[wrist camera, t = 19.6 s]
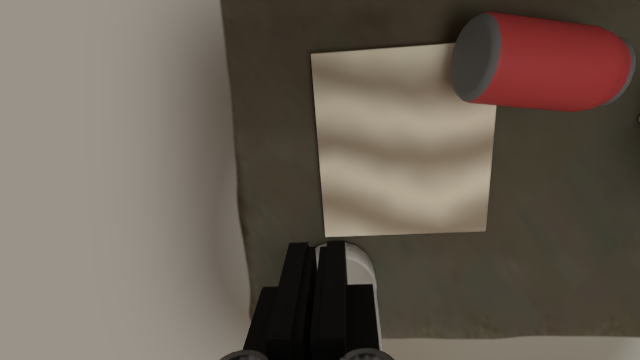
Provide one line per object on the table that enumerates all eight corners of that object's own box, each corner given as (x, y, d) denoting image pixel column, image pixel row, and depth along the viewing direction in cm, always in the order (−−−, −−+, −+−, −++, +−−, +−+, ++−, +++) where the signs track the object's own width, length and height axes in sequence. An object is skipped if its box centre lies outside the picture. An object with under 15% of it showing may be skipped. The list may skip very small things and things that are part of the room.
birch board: (311, 53, 36) (310, 54, 34) (496, 39, 34) (501, 39, 33) (325, 231, 42) (325, 237, 41) (481, 225, 41) (485, 231, 40)
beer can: (445, 36, 33) (568, 51, 36) (447, 112, 33) (572, 122, 35) (494, -9, 27) (640, 12, 29) (498, 84, 26) (647, 99, 29)
